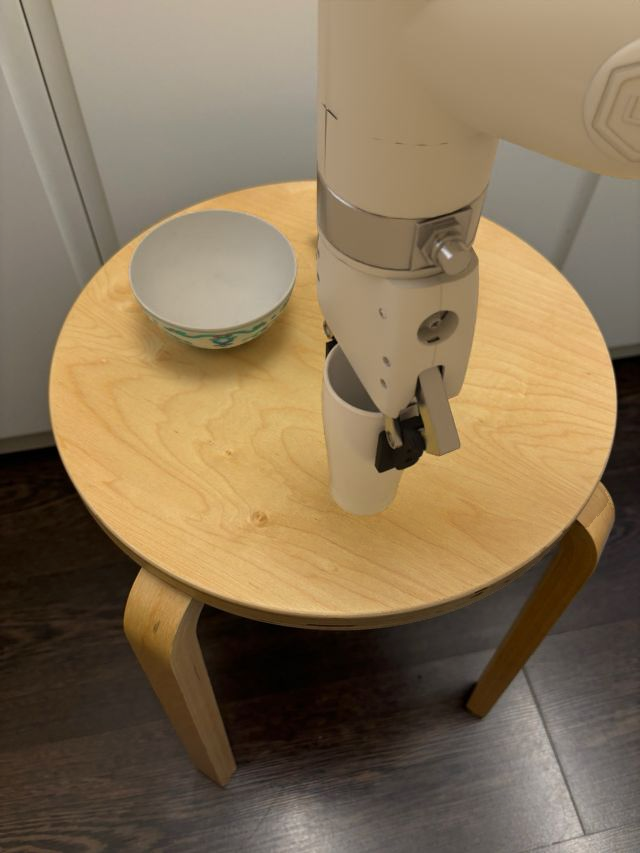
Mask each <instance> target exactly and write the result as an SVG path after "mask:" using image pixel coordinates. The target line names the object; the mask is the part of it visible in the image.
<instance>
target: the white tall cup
mask: <svg viewBox="0 0 640 853" xmlns="http://www.w3.org/2000/svg"><path fill="white" fill-rule="evenodd" d="M322 369H323V370H322V371H323V372H322V379H321V380H322V381H321V395H320V396H321V400H320V402H321V419H322V427H323V428H322V429H323V434H324V435H323V436H324V441H325V449H326V457H327V458H326V459H327V466H328V474H329V475H328V485H329V486H328V487H329V492H330V495H331V497H332V499H333V500H334V502H335V503H336V504H337V506H339V508H341V509H342V510H343V511H345V512H347V513H349V514H351V515H355V516H360V517H367V516H368V517H369V516H374V515H377V514H380V513H382V512H384V511H386V510H387V509H388V508H389V507H390V506H391V504H393V502H394V500H395V499H396V498H397V494H398V491H399V485H400V483H401V480H402V477H403V474H404V472H405V470H406V469H403V470H397V469H396V468H393V469H390V470H388V471H385V472H383V473H378V471H377V469H376V468H375V457H376V451H377V444H378V437H379V433H380V432H382V431H383V430H385V425H384V418H383V413H382V412H381V411H380V410H379V409H378V407H377V406H376V405H375V403H374V402H373V400H372V399H371V397H370V395H369V394H368V392H367V391H366V389H365V387H364V386H363V384H362V382H361V381H360V379H359V377H358V376H357V374H356V372H355V371H354V369H353V367H352V366H351V364H350V362H349V361H348V359H347V357H346V356H345V354H344V352H343V350H342V349H341V347H340V345H339V344H336V345H335V346H334V347H333V349H332V350H331V351H330V353H329V354H328V356H327V358H326V361H325V360H324V363H323V368H322ZM399 414H400V421H403V420H405V419H408V418H411V417H413V416H419V415H418V407H417V404H416V405H413V406H410V407H407V408H405V409H402V410H400V413H399Z"/></svg>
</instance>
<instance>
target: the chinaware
mask: <svg viewBox="0 0 640 853" xmlns="http://www.w3.org/2000/svg"><path fill="white" fill-rule="evenodd" d="M127 273H128V275H127V276H128V281H129V286H130V288H131V292H132V294H133V296H134V297H135V300H136V302H137V303H138V305H139V306H140V308H141V309H142V310H143V312H144V313H145V315H146V316H147V317H148V318H149V319H150V320H151V322H153V323H154V324H155V325H156V326H157V327H158V328H159V329H160V330H161V331H163V332H164V333H165V334H167V335H168V336H170V337H172V338H173V339H175V340H177V341H179V342H181V343H184V344H186V345H189V346H192V347H196V348H201V349H210V350H211V349H212V350H218V349H229V348H233V347H239V346H241V345H243V344H246V343H248V342H251V341H253V340H255V339H256V338H258V337H259V336H261V335H262V334H263V333H265V332H266V331H268V329H269V328H271V327H272V325H274V324H275V322H276V321H277V320H278V319H279V318H280V316H281V315H282V313H283V312H284V310H285V308H286V306H287V305H288V303H289V300H290V298H291V296H292V293H293V291H294V287H295V284H296V280H297V275H298V259H297V254H296V251H295V249H294V247H293V245H292V243H291V242H290V240H289V239H288V237H287V236H286V235H285V234H284V233H283V231H281V230H280V229H279V228H278V227H276V226H275V225H274V224H272V223H271V222H269V221H267V220H266V219H264V218H262V217H259V216H257V215H254V214H251V213H248V212H245V211H239V210H233V209H226V208H208V209H199V210H194V211H189V212H185V213H183V214H179V215H176V216H174V217H172V218H169V219H167V220H165V221H162V222H161V223H160V224H158V225H157V226H154V228H153V229H151V230H150V231H149V232H147V233H146V235H145V236H144V237H142V238H141V240H140V241H139V242H138V243H137V245H136V247H135V248H134V250H133V252H132V254H131V257H130V260H129V264H128V272H127Z"/></svg>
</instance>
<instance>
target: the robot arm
mask: <svg viewBox="0 0 640 853" xmlns="http://www.w3.org/2000/svg"><path fill="white" fill-rule="evenodd" d="M316 50H317V51H316V52H317V53H316V54H317V56H316V57H317V59H316V60H317V61H316V62H317V67H316V69H317V70H316V71H317V72H316V73H317V75H316V76H317V81H316V82H317V84H316V85H317V86H316V94H317V95H316V108H317V109H316V220H315V222H316V230H317V235H318V234H319V238H318V237H317V252H316V253H315V259H316V260H315V261H316V293H317V294H316V295H317V303H318V306H319V309H320V311H321V314H322V316H323V318H324V321H323V323H322V327H323V331H324V334H325V336H326V338H327V340H329V341H327V342H325V358H324V359H325V360H324V362H325V361H326V358H327V356H328V354H329V353H330V351H331V350H332V349H333V347H334V346H335V345H336V344H339V345H340V347H341V349H342V350H343V352H344V354H345V356H346V357H347V359H348V361H349V362H350V364H351V366H352V367H353V369H354V371H355V372H356V374H357V376H358V377H359V379H360V381H361V382H362V384H363V386H364V387H365V389H366V391H367V392H368V394H369V395H370V397H371V399H372V400H373V402H374V403H375V405H376V406H377V407H378V409H379V410H380V411H381V412H382V413H383V418H384V425H385V430H383V431H382V432H380V433H379V437H378V444H377V451H376V457H375V468H376V469H377V471H378V473H383V472H385V471H388V470H390V469H393V468H396V469H397V470H403V469H405V470H406V469H408V468H410V467H412V466H414V465H416V464H417V463H418V462H419V460H420V458H422V456H423V455H424V452H426V454H427V455H428V454H429V455H431V456H435V457H442V456H444V455H447V454H449V453H452V452H454V451H457V450H459V449H461V444H462V443H461V440H460V437H459V432H458V430H457V426H456V423H455V419H454V415H453V412H452V408H451V404H450V401H449V400H451V399H453V398H455V397H458V396H459V395H460V392H461V391H462V388H463V386H464V382H465V379H466V375H467V371H468V367H469V363H470V357H471V354H472V349H473V342H474V338H475V331H476V325H477V316H478V307H479V293H480V292H479V291H480V264H479V263H480V262H479V261H480V260H479V257H478V255H477V252H476V251H475V249H474V247H473V245H474V244H475V240H476V236H477V233H478V229H479V225H480V221H481V216H482V213H483V209H484V208H483V207H484V206H485V201H486V196H487V192H488V188H489V185H490V180H491V176H492V170H493V167H494V162H495V159H496V155H497V151H498V146H499V142H500V140H502V141H505V142H508V143H511V144H513V145H516V146H518V147H521V148H524V149H527V150H529V151H532V152H535V153H537V154H540V155H543V156H546V157H548V158H550V159H553V160H556V161H558V162H561V163H564V164H566V165H568V166H572V167H574V168H578V169H581V170H583V171H587V172H591V173H595V174H599V175H603V176H606V177H611V178H616V179H623V180H635V181H640V0H317V49H316ZM416 404H417V407H418V415H419V416H413V417H411V418H408V419H405V420H403V421H400V414H399V413H400V410H402V409H405V408H407V407H410V406H413V405H416Z"/></svg>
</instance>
